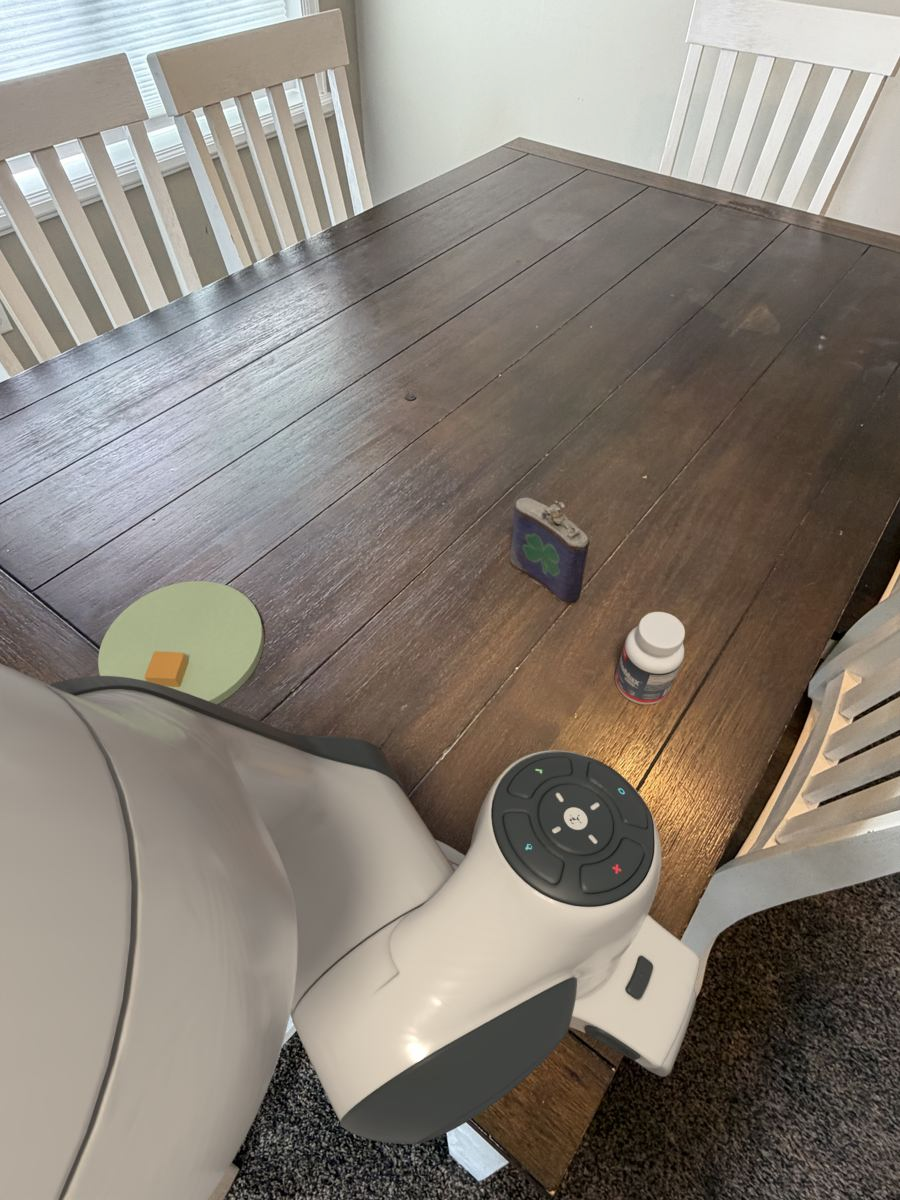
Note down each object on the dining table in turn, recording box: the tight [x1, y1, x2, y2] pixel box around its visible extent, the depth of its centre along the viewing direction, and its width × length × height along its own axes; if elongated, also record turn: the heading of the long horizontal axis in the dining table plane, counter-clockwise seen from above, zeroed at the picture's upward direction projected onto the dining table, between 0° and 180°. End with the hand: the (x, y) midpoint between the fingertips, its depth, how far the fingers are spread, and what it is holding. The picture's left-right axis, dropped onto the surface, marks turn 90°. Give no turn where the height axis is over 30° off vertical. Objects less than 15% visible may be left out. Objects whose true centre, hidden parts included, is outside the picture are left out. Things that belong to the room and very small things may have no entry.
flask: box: [509, 496, 590, 606], centre depth 75 cm, size 9×3×11 cm, turn 44°
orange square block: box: [145, 651, 188, 687], centre depth 70 cm, size 3×3×2 cm
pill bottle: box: [614, 611, 686, 706], centre depth 67 cm, size 5×5×9 cm
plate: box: [97, 580, 265, 705], centre depth 73 cm, size 16×16×1 cm
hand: (525, 976), depth 53 cm, fingers closed on sponge, 5 cm apart
